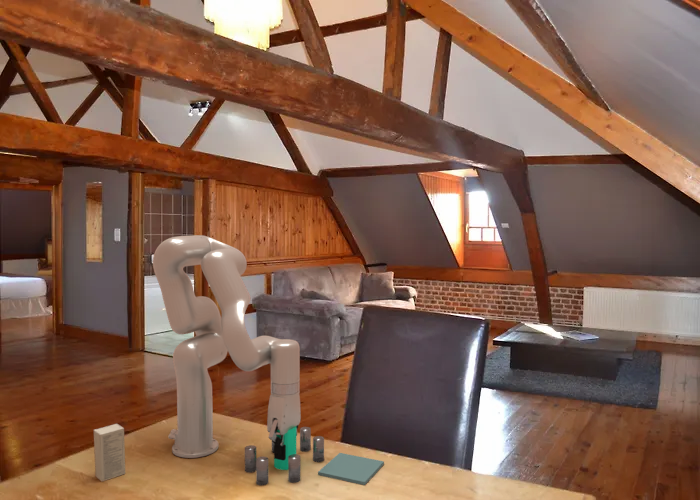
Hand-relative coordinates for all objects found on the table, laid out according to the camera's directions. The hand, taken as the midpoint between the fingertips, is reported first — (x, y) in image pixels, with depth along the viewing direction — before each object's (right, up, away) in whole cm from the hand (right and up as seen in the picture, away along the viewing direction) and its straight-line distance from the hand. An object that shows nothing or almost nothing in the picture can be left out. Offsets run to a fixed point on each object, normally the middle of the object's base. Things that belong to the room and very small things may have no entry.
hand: (285, 454), depth 153 cm
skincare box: (-44, -3, -6) cm, 44 cm away
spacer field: (0, -3, 0) cm, 3 cm away
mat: (+18, -3, -2) cm, 18 cm away
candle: (0, -3, 0) cm, 3 cm away
